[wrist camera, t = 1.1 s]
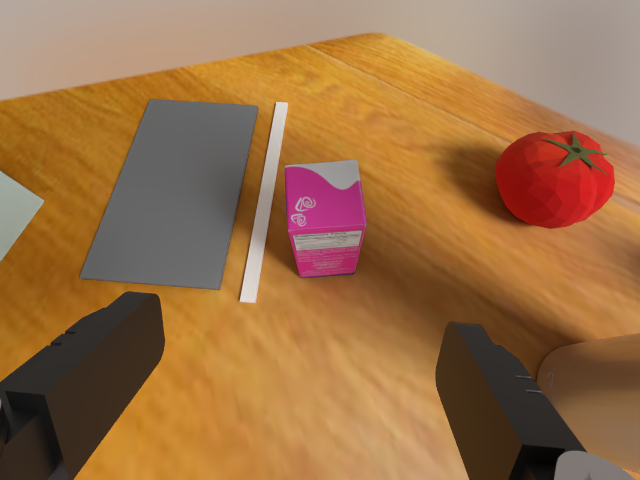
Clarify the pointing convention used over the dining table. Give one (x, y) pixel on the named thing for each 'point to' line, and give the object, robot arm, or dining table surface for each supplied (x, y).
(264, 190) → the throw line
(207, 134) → the mat
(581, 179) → the tomato
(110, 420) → the robot arm
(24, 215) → the l-shaped corner panel
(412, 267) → the dining table surface
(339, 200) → the supplement box
